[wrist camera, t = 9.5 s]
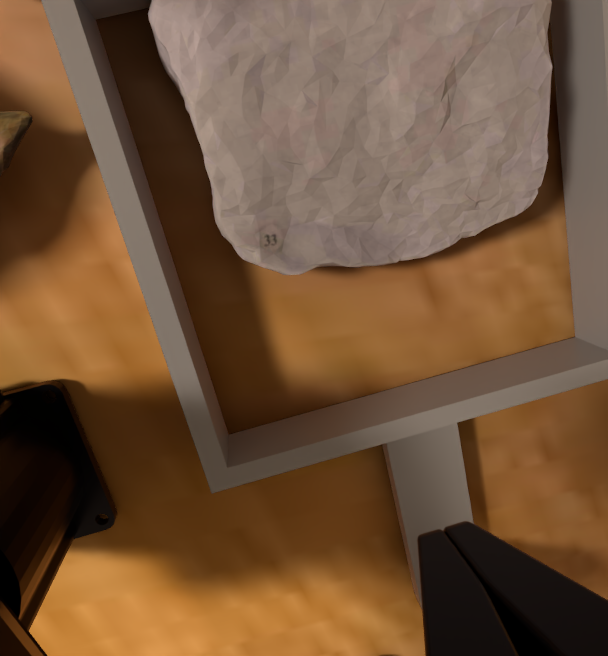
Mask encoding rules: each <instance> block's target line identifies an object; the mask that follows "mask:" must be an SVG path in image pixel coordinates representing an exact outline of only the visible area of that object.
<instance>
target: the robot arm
mask: <svg viewBox="0 0 608 656" xmlns="http://www.w3.org/2000/svg"><path fill="white" fill-rule="evenodd" d="M46 391H52V392H54V393H55V394H56V399H51V398H49V397H48V396H47V395H46ZM99 514H105V515H107V517H108V518H105V519H103V518H101V517H100V516H99ZM116 516H117V509H116V507H115V505H114V502H113V500H112V497H111V495H110V493H109V490H108V488H107V485H106V483H105V481H104V478H103V476H102V473H101V471H100V469H99V466H98V464H97V461H96V459H95V457H94V454H93V452H92V449H91V447H90V445H89V442H88V440H87V437H86V435H85V433H84V430H83V428H82V425H81V423H80V421H79V418H78V416H77V413H76V411H75V409H74V406H73V404H72V402H71V399H70V397H69V394H68V392H67V390H66V388H65V386H64V385H63V384H61V383H60V382H58V381H54V380H51V381H45V382H42V383H38V384H34V385H30V386H27V387H23V388H19V389H15V390H12V391H8V392H4V393H2V392H1V390H0V656H47V654H46V653H45V652H44V651H43V649H42V648H41V647H40V645H39V644H38V643H37V642H36V640H35V639H34V638H33V636H32V635H31V634H30V633H29V629H30V627H31V625H32V623H33V621H34V619H35V617H36V615H37V613H38V611H39V609H40V607H41V605H42V603H43V600H44V598H45V596H46V594H47V592H48V590H49V588H50V586H51V584H52V582H53V580H54V578H55V576H56V574H57V572H58V570H59V567H60V565H61V563H62V561H63V559H64V557H65V555H66V553H67V551H68V549H69V547H70V545H71V543H72V541H73V539H75V538H79V537H82V536H86V535H89V534H93V533H96V532H100V531H103V530H106V529H108V528H111V526H112V525H113V524H114V522H115V519H116ZM417 543H418V557H419V571H420V585H421V599H422V613H423V627H424V641H425V655H426V656H608V600H606V599H605V598H603V597H601V596H599V595H598V594H596V593H594V592H592V591H591V590H589V589H587V588H585V587H584V586H582V585H580V584H578V583H577V582H575V581H573V580H571V579H570V578H568V577H566V576H564V575H563V574H561V573H559V572H557V571H556V570H554V569H552V568H550V567H549V566H547V565H545V564H543V563H541V562H540V561H538V560H536V559H534V558H533V557H531V556H529V555H527V554H526V553H524V552H522V551H520V550H519V549H517V548H515V547H513V546H512V545H510V544H508V543H506V542H505V541H503V540H501V539H499V538H498V537H496V536H494V535H492V534H491V533H489V532H487V531H485V530H484V529H482V528H480V527H478V526H477V525H475V524H473V523H471V522H469V521H462V522H459V523H456V524H453V525H449V526H446V527H445V528H444V530H441V529H436V530H433V531H429V532H426V533H423V534H420V535H419V536H418V538H417Z"/></svg>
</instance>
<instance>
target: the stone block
mask: <svg viewBox="0 0 608 656" xmlns="http://www.w3.org/2000/svg"><path fill="white" fill-rule="evenodd" d="M551 4H552V2H551V0H152V2H151V5H150V9H149V11H148V17H149V22H150V24H151V27H152V31H153V35H154V38H155V42H156V46H157V50H158V54H159V57H160V59H161V62H162V64H163V67H164V69H165V71H166V73H167V74H168V76H169V77H170V78H171V80H172V81H173V83H174V84H175V85H176V87H177V89H178V91H179V92H180V94H181V96H182V97H183V99H184V101H185V108H186V110H187V111H188V112H189V114H190V117H191V121H192V123H193V126H194V129H195V132H196V136H197V138H198V141H199V143H200V145H201V149H202V152H203V155H204V163H205V168H206V171H207V174H208V176H209V179H210V183H211V188H212V196H213V210H214V216H215V222H216V224H217V226H218V228H219V230H220V232H221V234H222V236H223V237H225V238H226V239H227V240H228V241H229V242H230V243H231V244H232V246H233V247H234V249H235V251H236V252H237V254H238V255H239V256H240V257H241V258H242V259H243V260H245V261H247V262H250V263H253V264H255V265H258V266H261V267H263V268H267V269H270V270H273V271H277V272H279V273H281V274H283V275H297V274H302V273H305V272H307V271H309V270H312V269H314V268H316V267H325V266H345V267H363V266H378V265H386V264H391V263H397V262H398V261H403V260H411V259H416V258H423V257H426V256H429V255H432V254H434V253H437V252H439V251H442V250H443V249H445V248H447V247H449V246H451V245H453V244H454V243H456V242H457V241H458V240H460V239H461V238H467V237H471V236H475V235H477V234H478V233H479V232H481V231H482V230H484V229H486V228H488V227H490V226H492V225H494V224H497V223H500V222H502V221H504V220H507V219H509V218H512V217H515V216H517V215H519V213H521V212H523V211H524V210H526V209H527V208H528V207H529V206H530V205H531V204H532V203H533V201H534V199H535V197H536V196H537V194H538V189H539V187H540V186H541V184H542V181H543V177H544V174H545V171H546V165H547V161H548V149H547V148H548V138H547V134H548V125H549V110H550V95H551V74H552V63H551V59H550V55H549V47H548V36H547V31H548V25H549V19H550V12H551Z"/></svg>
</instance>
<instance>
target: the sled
mask: <svg viewBox="0 0 608 656" xmlns="http://www.w3.org/2000/svg"><path fill="white" fill-rule="evenodd" d="M41 1H42V4H43V7H44V10H45V13H46V15H47V18H48V21H49V24H50V27H51V30H52V33H53V36H54V39H55V42H56V44H57V47H58V50H59V53H60V56H61V59H62V62H63V65H64V68H65V70H66V73H67V76H68V79H69V82H70V85H71V88H72V91H73V94H74V96H75V99H76V102H77V105H78V108H79V111H80V114H81V117H82V120H83V123H84V125H85V128H86V131H87V134H88V137H89V140H90V143H91V146H92V149H93V151H94V154H95V157H96V160H97V163H98V166H99V169H100V172H101V175H102V178H103V180H104V183H105V186H106V189H107V192H108V195H109V198H110V201H111V204H112V206H113V209H114V212H115V215H116V218H117V221H118V224H119V227H120V230H121V233H122V235H123V238H124V241H125V244H126V247H127V250H128V253H129V256H130V259H131V261H132V264H133V267H134V270H135V273H136V276H137V279H138V282H139V285H140V288H141V290H142V293H143V296H144V299H145V302H146V305H147V308H148V311H149V314H150V316H151V319H152V322H153V325H154V328H155V331H156V334H157V337H158V340H159V342H160V345H161V348H162V351H163V354H164V357H165V360H166V363H167V366H168V369H169V371H170V374H171V377H172V380H173V383H174V386H175V389H176V392H177V395H178V397H179V400H180V403H181V406H182V409H183V412H184V415H185V418H186V421H187V424H188V426H189V429H190V432H191V435H192V438H193V441H194V444H195V447H196V450H197V452H198V455H199V458H200V461H201V464H202V467H203V470H204V473H205V476H206V479H207V481H208V484H209V487H210V490H211V493H215V492H219V491H222V490H226V489H229V488H233V487H236V486H240V485H243V484H246V483H250V482H253V481H257V480H260V479H264V478H267V477H271V476H274V475H278V474H281V473H284V472H288V471H291V470H295V469H298V468H302V467H305V466H309V465H312V464H316V463H319V462H323V461H326V460H329V459H333V458H336V457H340V456H343V455H347V454H350V453H354V452H357V451H361V450H364V449H368V448H371V447H374V446H378V445H381V444H382V446H383V451H384V455H385V460H386V465H387V469H388V474H389V478H390V483H391V488H392V492H393V497H394V501H395V506H396V511H397V515H398V520H399V524H400V529H401V534H402V538H403V543H404V547H405V552H406V557H407V561H408V566H409V570H410V575H411V580H412V584H413V589H414V593H415V595H416V598H417V600H418V602H419V604H420V607H421V609H422V599H421V585H420V571H419V557H418V543H417V538H418V536H419V535H420V534H423V533H426V532H429V531H433V530H436V529H441V530H444V528H445V527H446V526H449V525H453V524H456V523H459V522H462V521H469V522H471V523H473V524H474V522H473V516H472V510H471V504H470V498H469V492H468V486H467V480H466V474H465V467H464V461H463V455H462V449H461V443H460V437H459V431H458V425H457V422H461V421H464V420H468V419H471V418H475V417H478V416H482V415H485V414H489V413H492V412H496V411H499V410H502V409H506V408H509V407H513V406H516V405H520V404H523V403H527V402H530V401H534V400H537V399H540V398H544V397H547V396H551V395H554V394H558V393H561V392H565V391H568V390H572V389H575V388H579V387H582V386H585V385H589V384H592V383H596V382H599V381H603V380H606V379H608V0H551V2H552V4H551V12H550V26H551V38H552V51H553V63H554V76H555V88H556V101H557V114H558V126H559V139H560V151H561V164H562V176H563V189H564V201H565V214H566V226H567V239H568V252H569V264H570V277H571V289H572V302H573V314H574V327H575V337H574V338H570V339H567V340H563V341H559V342H556V343H552V344H549V345H545V346H542V347H538V348H535V349H531V350H528V351H524V352H520V353H517V354H513V355H510V356H506V357H503V358H499V359H496V360H492V361H489V362H485V363H481V364H478V365H474V366H471V367H467V368H464V369H460V370H457V371H453V372H450V373H446V374H442V375H439V376H435V377H432V378H428V379H425V380H421V381H418V382H414V383H410V384H407V385H403V386H400V387H396V388H393V389H389V390H386V391H382V392H379V393H375V394H371V395H368V396H364V397H361V398H357V399H354V400H350V401H347V402H343V403H340V404H336V405H332V406H329V407H325V408H322V409H318V410H315V411H311V412H308V413H304V414H301V415H297V416H293V417H290V418H286V419H283V420H279V421H276V422H272V423H269V424H265V425H262V426H258V427H254V428H251V429H247V430H244V431H240V432H237V433H233V434H230V435H229V434H228V431H227V428H226V425H225V422H224V419H223V415H222V412H221V409H220V406H219V403H218V400H217V397H216V394H215V390H214V387H213V384H212V381H211V378H210V375H209V372H208V369H207V365H206V362H205V359H204V356H203V353H202V350H201V347H200V344H199V341H198V337H197V334H196V331H195V328H194V325H193V322H192V319H191V316H190V312H189V309H188V306H187V303H186V300H185V297H184V294H183V291H182V287H181V284H180V281H179V278H178V275H177V272H176V269H175V266H174V262H173V259H172V256H171V253H170V250H169V247H168V244H167V241H166V237H165V234H164V231H163V228H162V225H161V222H160V219H159V216H158V212H157V209H156V206H155V203H154V200H153V197H152V194H151V191H150V187H149V184H148V181H147V178H146V175H145V172H144V169H143V166H142V163H141V159H140V156H139V153H138V150H137V147H136V144H135V141H134V138H133V134H132V131H131V128H130V125H129V122H128V119H127V116H126V113H125V109H124V106H123V103H122V100H121V97H120V94H119V91H118V88H117V84H116V81H115V78H114V75H113V72H112V69H111V66H110V63H109V59H108V56H107V53H106V50H105V47H104V44H103V41H102V38H101V34H100V31H99V28H98V25H97V22H96V19H101V18H105V17H110V16H114V15H119V14H123V13H128V12H132V11H136V10H141V9H145V8H150V5H151V2H152V0H41Z"/></svg>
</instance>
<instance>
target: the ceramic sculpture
mask: <svg viewBox="0 0 608 656" xmlns="http://www.w3.org/2000/svg"><path fill="white" fill-rule="evenodd" d="M31 123H32V116H31V115H30V114H29V113H28V112H27V111H5V112H0V176H1V175H2V173H3V172H4V171H5V170H6V169H7V168H8V167H9V165H10V162H11V160H12V157H13V155H14V152H15V151H16V149H17V147H18V145H19V144H20V142H21V140H22V138H23V137H24V135H25V133H26V131H27V130H28V128H29V126H30V125H31Z"/></svg>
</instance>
